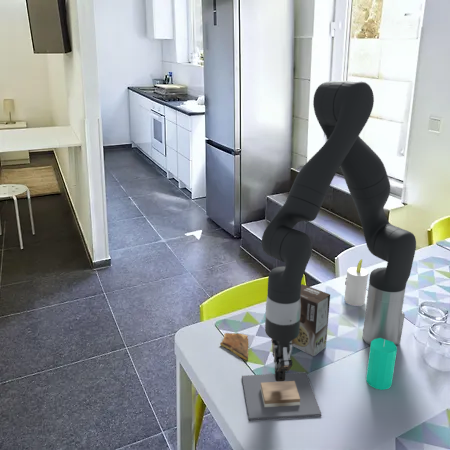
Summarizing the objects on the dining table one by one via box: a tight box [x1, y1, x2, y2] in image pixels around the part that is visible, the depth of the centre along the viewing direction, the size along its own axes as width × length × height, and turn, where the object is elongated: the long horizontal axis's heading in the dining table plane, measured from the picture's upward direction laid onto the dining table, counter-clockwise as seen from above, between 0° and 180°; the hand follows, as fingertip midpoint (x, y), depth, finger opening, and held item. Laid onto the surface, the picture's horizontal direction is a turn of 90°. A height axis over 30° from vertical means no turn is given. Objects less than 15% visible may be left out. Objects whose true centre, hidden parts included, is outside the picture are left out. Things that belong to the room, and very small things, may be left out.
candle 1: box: [343, 259, 369, 307], centre depth 146 cm, size 6×6×15 cm
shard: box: [220, 332, 249, 361], centre depth 125 cm, size 11×8×2 cm
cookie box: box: [291, 283, 331, 357], centre depth 124 cm, size 9×6×16 cm
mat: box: [241, 371, 322, 421], centre depth 108 cm, size 16×14×1 cm
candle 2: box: [365, 338, 398, 391], centre depth 111 cm, size 6×6×12 cm
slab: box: [261, 381, 300, 407], centre depth 107 cm, size 8×2×6 cm
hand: (279, 379), depth 107 cm, fingers closed
